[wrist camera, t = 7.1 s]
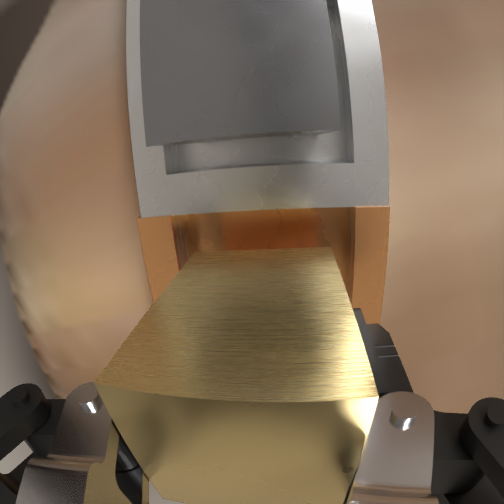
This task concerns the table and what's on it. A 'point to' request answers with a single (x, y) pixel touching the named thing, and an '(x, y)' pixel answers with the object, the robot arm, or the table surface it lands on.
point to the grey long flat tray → (276, 176)
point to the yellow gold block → (246, 381)
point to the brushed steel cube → (236, 70)
